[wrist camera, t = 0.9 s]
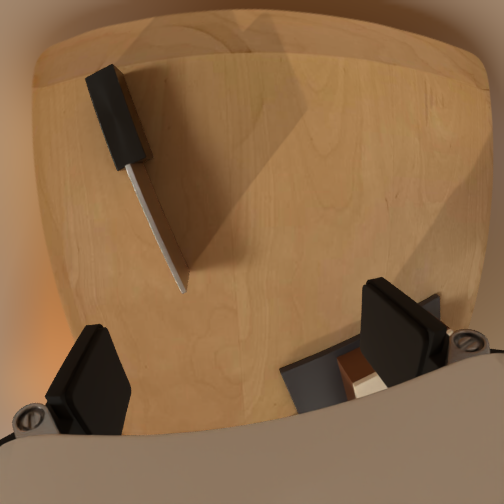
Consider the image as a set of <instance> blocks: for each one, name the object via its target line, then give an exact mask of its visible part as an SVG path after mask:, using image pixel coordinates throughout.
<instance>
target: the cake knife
mask: <svg viewBox="0 0 504 504" xmlns="http://www.w3.org/2000/svg"><path fill="white" fill-rule="evenodd" d="M85 81H86V84H87V87H88V90H89V93H90V97H91V100H92V103H93V106H94V109H95V112H96V115H97V118H98V121H99V123H100V126H101V129H102V132H103V135H104V137H105V140H106V143H107V146H108V148H109V151H110V154H111V156H112V159H113V161H114V164H115V167H116V169H117V171H121V170H127V172H128V175H129V177H130V180H131V182H132V185H133V187H134V190H135V192H136V194H137V197H138V199H139V201H140V204H141V206H142V209H143V211H144V213H145V215H146V218H147V220H148V222H149V225H150V227H151V229H152V231H153V234H154V236H155V238H156V240H157V242H158V245H159V247H160V249H161V251H162V253H163V255H164V258H165V260H166V262H167V264H168V266H169V268H170V270H171V272H172V274H173V276H174V278H175V281H176V283H177V285H178V287H179V289H180V291H181V293H182V294H183V293H186V292H187V286H188V279H189V272H190V271H189V269H188V267H187V264H186V262H185V260H184V258H183V256H182V253H181V251H180V249H179V247H178V245H177V242H176V240H175V238H174V236H173V233H172V231H171V229H170V227H169V224H168V222H167V220H166V217H165V215H164V213H163V210H162V208H161V206H160V203H159V201H158V198H157V196H156V194H155V191H154V189H153V186H152V184H151V182H150V179H149V177H148V174H147V172H146V169H145V167H144V164H143V162H145V161H147V160H150V159H152V158H154V156H153V154H152V151H151V149H150V146H149V143H148V141H147V138H146V136H145V133H144V130H143V128H142V125H141V122H140V120H139V117H138V114H137V112H136V109H135V106H134V103H133V101H132V98H131V95H130V92H129V89H128V86H127V84H126V81H125V78H124V75H123V74H122V73H121V72H120V71H119V70H118V69H117V68H116V67H115V66H114V65H113V64H111V65H109V66H107V67H105V68H103V69H101V70H99V71H98V72H96V73H94V74H92V75H90V76H88V77H87V78H85Z"/></svg>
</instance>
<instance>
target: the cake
mask: <svg viewBox="0 0 504 504" xmlns="http://www.w3.org/2000/svg"><path fill="white" fill-rule="evenodd" d="M418 304H419V305H420V306H421V307H423V308H424V309H425V310H427V311H428V312H429V313H430V314H432V315H433V316H434V317H436V318H437V319H438V320H439V321H440V296H439V295H437V294H434V295H432V296H431V297H429V298H427V299H426V300H424V301H422V302H420V303H418ZM442 323H443V322H442ZM443 324H444V323H443ZM444 325H445V324H444ZM446 333H447V334H448V335H449V336H450V335H451V334H452V333H453V330H451V329H450V328H449V327H448V326H447V332H446ZM358 347H360V334H359V335H357V336H355V337H353V338H350V339H348V340H346V341H344V342H342V343H340V344H337V345H335V346H333V347H331V348H328V349H326V350H324V351H322V352H319V353H317V354H315V355H312V356H310V357H308V358H305V359H303V360H300V361H298V362H296V363H293V364H291V365H288V366H286V367H283V368H280V369H279V370H280V373H281V375H282V377H283V380H284V382H285V384H286V387H287V389H288V391H289V393H290V396H291V398H292V400H293V402H294V405H295V407H296V409H297V411H298V414H302V413H306V412H310V411H314V410H318V409H322V408H326V407H329V406H333V405H337V404H340V403H343V402H347V401H348V400H347V396H346V392H345V388H344V385H343V381H342V377H341V373H340V369H339V365H338V362H337V357H339V356H341V355H343V354H346V353H348V352H350V351H352V350H354V349H356V348H358Z"/></svg>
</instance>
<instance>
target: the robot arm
mask: <svg viewBox="0 0 504 504" xmlns="http://www.w3.org/2000/svg"><path fill="white" fill-rule="evenodd" d="M446 332H447V326H446V325H444V324H443V323H442V322H441V321H439V320H438V319H437V318H436V317H434V316H433V315H432V314H430V313H429V312H428V311H427V310H425V309H424V308H423V307H421V306H420V305H419V304H418V303H416V302H415V301H414V300H412V299H411V298H410V297H408V296H407V295H406V294H404V293H403V292H402V291H400V290H399V289H398V288H396V287H395V286H394V285H392V284H391V283H390V282H388V281H387V280H386V279H384V278H383V277H379V278H375V279H371V280H368V281H367V282H366V285H363V288H362V313H361V332H360V350H361V353H362V354H363V356H364V357H365V358H366V360H367V361H368V362H369V364H370V365H371V366H372V368H373V369H374V370H375V372H376V373H377V374H378V376H379V377H380V378H381V380H382V381H383V382H384V384H385V385H386V386H387V389H384V390H381V391H378V392H375V393H372V394H369V395H366V396H363V397H360V398H357V399H354V400H350V401H347V402H343V403H340V404H337V405H333V406H329V407H326V408H322V409H318V410H314V411H310V412H306V413H302V414H298V415H294V416H289V417H285V418H280V419H275V420H270V421H265V422H259V423H254V424H248V425H242V426H235V427H229V428H221V429H213V430H205V431H195V432H184V433H171V434H155V435H121V434H122V430H123V425H124V421H125V416H126V412H127V408H128V404H129V400H130V396H131V386H130V383H129V381H128V379H127V376H126V374H125V372H124V369H123V367H122V364H121V362H120V360H119V357H118V355H117V352H116V350H115V347H114V344H113V342H112V339H111V336H110V334H109V331H108V329H107V328H106V327H104V328H103V326H102V325H101V324H95V325H86V326H85V328H84V329H83V331H82V332H81V334H80V336H79V337H78V339H77V341H76V342H75V344H74V346H73V347H72V349H71V351H70V352H69V354H68V356H67V357H66V359H65V361H64V363H63V364H62V366H61V368H60V370H59V371H58V373H57V375H56V377H55V378H54V380H53V382H52V384H51V386H50V388H49V389H48V391H47V393H46V395H45V398H46V399H47V403H46V405H43V404H41V403H32V404H29V405H26V406H24V407H23V408H21V409H20V410H19V411H18V412H17V413H16V414H15V416H14V418H13V421H12V426H13V430H14V432H13V433H12V434H10V435H8V436H6V437H4V438H2V439H1V440H0V504H504V350H496V349H490V347H489V342H488V339H487V338H486V337H485V336H484V335H483V334H482V333H480V332H478V331H475V330H471V329H461V330H457V331H455V332H453V333H452V334H451V335H450V336H449V335H448V334H447V333H446Z"/></svg>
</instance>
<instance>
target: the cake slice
mask: <svg viewBox="0 0 504 504" xmlns="http://www.w3.org/2000/svg"><path fill="white" fill-rule="evenodd" d="M337 362H338V365H339V369H340V373H341V377H342V381H343V385H344V388H345V392H346V396H347V400H348V401H350V400H354V399H357V398H360V397H363V396H366V395H369V394H372V393H375V392H378V391H381V390H384V389H387V386H386V385H385V384H384V382H383V381H382V380H381V378H380V377H379V376H378V374H377V373H376V372H375V370H374V369H373V368H372V366H371V365H370V364H369V362H368V361H367V360H366V358H365V357H364V356H363V354H362V353H361V350H360V347H358V348H356V349H354V350H352V351H350V352H348V353H346V354H343V355H341V356H339V357H337Z"/></svg>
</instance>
